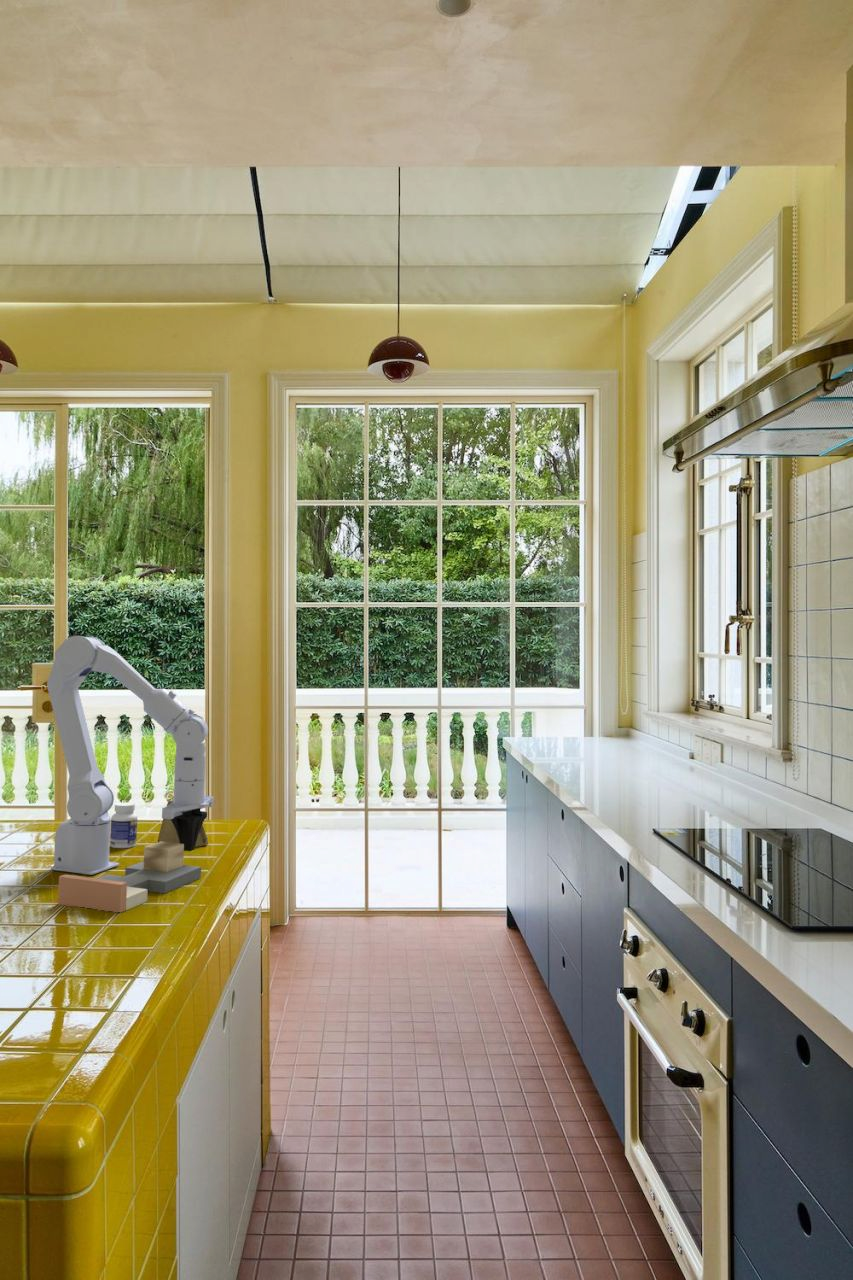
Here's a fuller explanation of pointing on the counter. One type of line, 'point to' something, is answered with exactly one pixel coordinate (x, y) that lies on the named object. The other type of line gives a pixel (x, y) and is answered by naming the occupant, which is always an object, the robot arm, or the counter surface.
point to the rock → (170, 834)
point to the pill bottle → (123, 826)
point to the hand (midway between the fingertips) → (187, 850)
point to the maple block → (163, 856)
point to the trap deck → (122, 887)
